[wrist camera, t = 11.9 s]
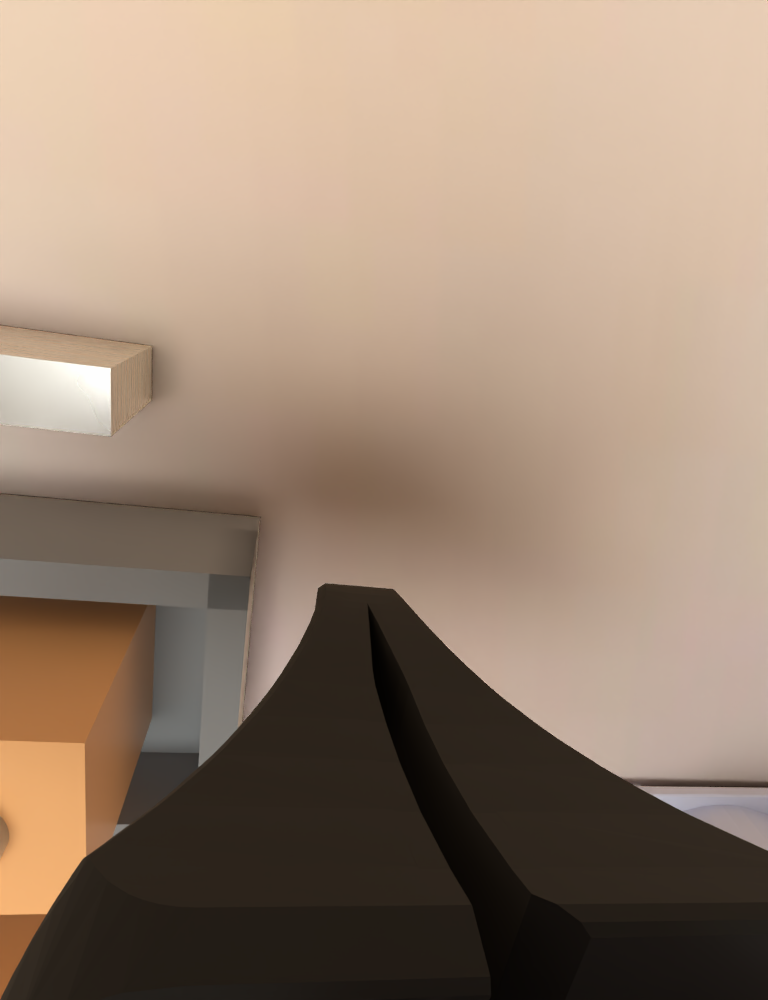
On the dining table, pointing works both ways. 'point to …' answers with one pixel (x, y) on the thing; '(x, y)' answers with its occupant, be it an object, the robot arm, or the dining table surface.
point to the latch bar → (71, 381)
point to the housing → (179, 611)
